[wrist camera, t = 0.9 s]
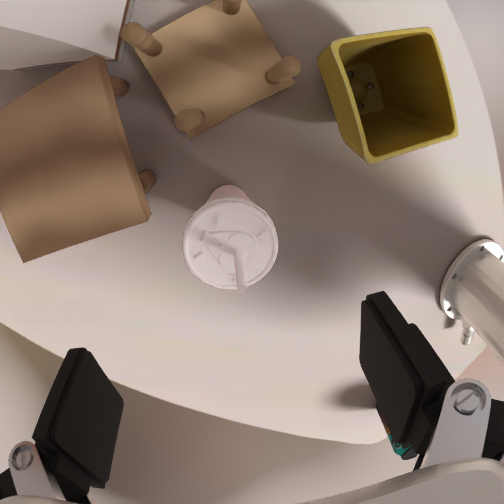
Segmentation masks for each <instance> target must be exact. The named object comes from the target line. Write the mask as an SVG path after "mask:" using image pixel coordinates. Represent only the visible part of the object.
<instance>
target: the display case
mask: <svg viewBox="0 0 504 504" xmlns="http://www.w3.org/2000/svg"><path fill="white" fill-rule="evenodd" d="M134 1H135V0H0V69H1V70H29V69H36V68H43V67H51V66H60V65H71V64H77V63H79V62H81V61H83V60H85V59H87V58H89V57H91V56H93V55H95V54H96V55H99V56H102V57H104V58H105V62H122V58H123V52H124V46H125V41H124V40H123V39H122V38H121V35H120V33H121V29H122V28H123V27H124V26H125V25H126V24H127V23H129V22H130V18H131V13H132V9H133V5H134Z"/></svg>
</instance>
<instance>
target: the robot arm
mask: <svg viewBox="0 0 504 504" xmlns="http://www.w3.org/2000/svg"><path fill="white" fill-rule="evenodd" d="M440 304H441V307H442V309H443V311H444V312H445V313H446V315H447V316H449V317H450V318H452V319H458V320H460V319H461V320H462V322H463V328H464V330H463V332H462V335H461V339H460V341H461V343H462V344H464V345H469V344H470V343H471V341H472V337H473V333H474V330H475V331H476V332H477V334H478V335H479V336H480V337H481V338H482V340H483V341H484V342H485V343H486V344H487V346H488V347H489V348H490V349H491V350H492V352H493V353H494V354H495V355H496V357H497V358H498V359H499V361H500V362H501V363H502V364H503V365H504V252H503V250H502V248H501V247H500V246H499V245H498V244H497V243H496V242H494V241H493V240H489V239H482V240H479V241H476V242H474V243H472V244H471V245H469V246H468V247H467V248H465V249H464V250H463V251H462V252H461V253H460V254H459V255H458V256H457V258H456V259H455V260H454V261H453V263H452V265H451V266H450V268H449V269H448V271H447V273H446V275H445V277H444V280H443V283H442V286H441V291H440ZM359 359H360V364H361V367H362V370H363V372H364V374H365V376H366V378H367V380H368V383H369V385H370V387H371V389H372V392H373V394H374V396H375V398H376V401H377V403H378V405H379V407H380V410H381V412H382V414H383V417H384V419H385V421H386V423H387V426H388V428H389V430H390V433H391V435H392V438H393V440H394V442H395V443H396V444H398V443H401V446H402V448H403V450H404V449H406V448H409V447H411V446H412V447H413V449H414V451H415V453H416V454H418V455H417V458H416V460H415V463H414V465H413V468H412V470H411V472H409V473H406V474H403V475H401V476H397V477H395V478H391V479H388V480H385V481H383V482H379V483H377V484H373V485H370V486H367V487H363V488H360V489H356V490H353V491H349V492H345V493H341V494H338V495H334V496H330V497H326V498H321V499H317V500H313V501H307V502H303V503H297V504H504V402H503V401H499V400H494V399H491V395H490V392H489V390H488V388H487V387H486V386H485V385H484V384H483V383H481V382H480V381H478V380H475V379H461V380H458V381H456V382H455V380H454V379H453V377H452V376H451V374H450V373H449V371H448V370H447V368H446V367H445V365H444V364H443V362H442V361H441V359H440V358H439V357H438V355H437V354H436V352H435V351H434V349H433V348H432V346H431V345H430V344H429V342H428V341H427V339H426V338H425V337H424V335H423V334H422V332H421V331H420V330H419V328H418V327H417V326H416V325H415V324H413V323H411V324H408V323H407V321H406V320H405V319H404V317H403V316H402V314H401V313H400V312H399V310H398V309H397V307H396V306H395V305H394V303H393V302H392V301H391V299H390V298H389V297H388V295H387V294H386V293H385V292H384V291H381V292H377V293H373V294H370V295H367V296H366V300H364V301H362V303H361V334H360V355H359ZM123 406H124V405H123V399H122V397H121V396H120V394H119V393H118V392H117V390H116V389H115V388H114V386H113V385H112V383H111V382H110V380H109V379H108V377H107V376H106V375H105V373H104V372H103V370H102V369H101V367H100V366H99V364H98V363H97V361H96V360H95V358H94V356H93V355H92V353H91V352H89V351H87V349H85V348H73V349H70V350H69V351H68V352H67V355H66V357H65V359H64V361H63V363H62V365H61V367H60V370H59V372H58V374H57V376H56V379H55V381H54V383H53V385H52V388H51V390H50V392H49V395H48V397H47V400H46V402H45V405H44V407H43V409H42V412H41V414H40V417H39V420H38V422H37V425H36V427H35V430H34V433H33V436H32V438H33V439H34V440H35V441H36V442H35V445H34V444H33V443H31V442H29V441H23V442H20V443H18V444H17V445H16V446H14V448H13V449H12V450H11V453H10V455H9V467H10V468H8V469H7V470H5V471H4V472H3V473H1V474H0V504H97V503H96V501H95V500H94V498H93V496H92V494H91V493H90V491H89V488H90V486H92V487H95V488H103V489H104V488H105V483H106V482H107V481H108V480H109V476H110V470H111V465H112V459H113V454H114V449H115V443H116V439H117V433H118V429H119V424H120V420H121V415H122V411H123Z"/></svg>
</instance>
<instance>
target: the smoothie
mask: <svg viewBox="0 0 504 504" xmlns="http://www.w3.org/2000/svg"><path fill="white" fill-rule="evenodd" d="M277 253H278V237H277V233H276V229H275V226H274V224H273V222H272V219H271V218H270V217H269V216H268V215H267V213H266V212H265V211H264V210H263V209H261V208H260V207H259V206H257V205H256V204H254V203H252V201H251V200H250V199H249V198H248V196H247V195H246V194H245V193H244V191H243V190H242V189H240V188H239V187H237V186H234V185H224V186H221V187H219V188H217V189H216V190H214V191H213V193H212V194H211V196H210V197H209V199H208V200H207V202H206V203H205V205H203V206H202V207H201V208H200V209H198V210H197V211H196V212H195V213H194V214H193V215H192V217H191V218H190V220H189V221H188V223H187V225H186V228H185V231H184V234H183V254H184V258H185V261H186V263H187V265H188V267H189V269H190V270H191V271H192V273H193V274H194V275H195V276H196V277H197V278H199V279H200V280H201V281H203V282H204V283H206V284H208V285H211V286H213V287H217V288H221V289H237V291H238V292H239V293H244V292H246V290H247V286H249V285H252V284H254V283H256V282H257V281H259V280H260V279H262V278H263V277H264V276H265V275H266V274H267V273H268V272H269V271H270V269H271V268H272V266H273V264H274V262H275V260H276V257H277Z"/></svg>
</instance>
